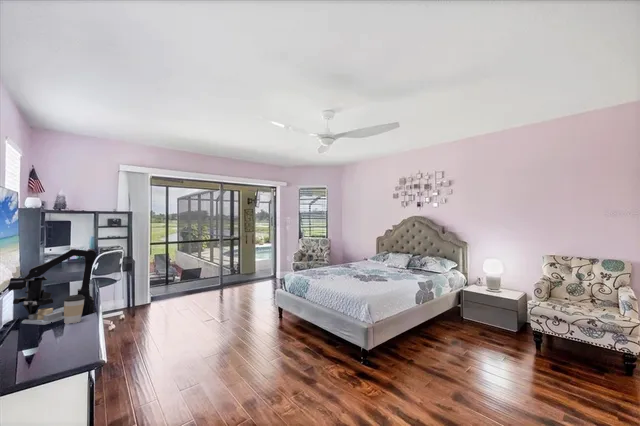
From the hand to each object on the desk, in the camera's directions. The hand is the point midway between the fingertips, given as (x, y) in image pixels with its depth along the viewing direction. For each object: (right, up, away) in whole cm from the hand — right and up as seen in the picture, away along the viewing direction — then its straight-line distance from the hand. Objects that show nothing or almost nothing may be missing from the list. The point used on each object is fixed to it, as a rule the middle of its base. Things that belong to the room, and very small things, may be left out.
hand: (32, 316), depth 158 cm
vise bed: (+7, -2, -1) cm, 8 cm away
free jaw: (+3, -1, 0) cm, 3 cm away
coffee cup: (+24, -3, -1) cm, 24 cm away
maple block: (+8, -1, -1) cm, 8 cm away
